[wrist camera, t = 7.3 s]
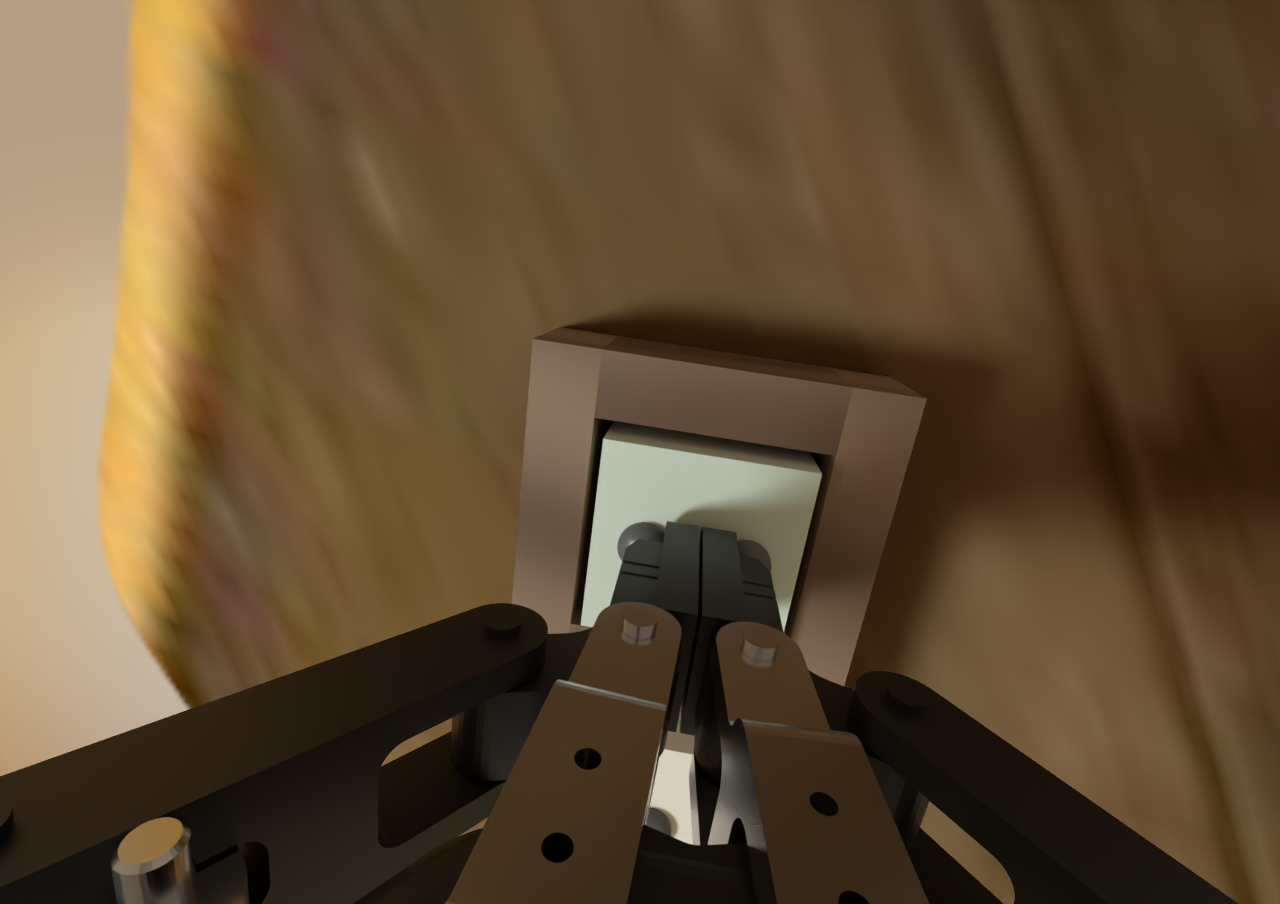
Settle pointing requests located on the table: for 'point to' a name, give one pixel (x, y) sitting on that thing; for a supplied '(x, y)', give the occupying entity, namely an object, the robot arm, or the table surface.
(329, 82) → the table surface
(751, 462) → the two dot button
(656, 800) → the three dot button
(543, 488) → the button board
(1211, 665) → the table surface
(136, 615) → the table surface
